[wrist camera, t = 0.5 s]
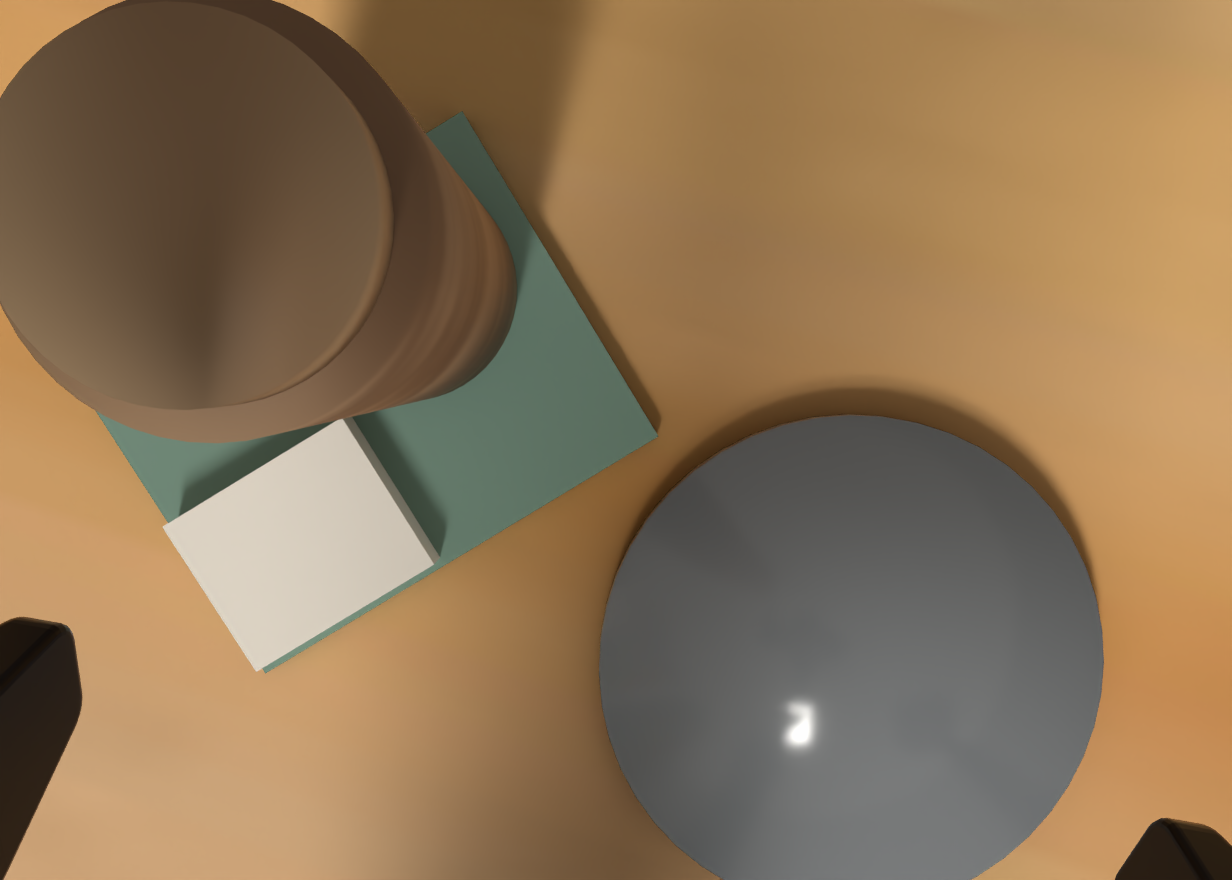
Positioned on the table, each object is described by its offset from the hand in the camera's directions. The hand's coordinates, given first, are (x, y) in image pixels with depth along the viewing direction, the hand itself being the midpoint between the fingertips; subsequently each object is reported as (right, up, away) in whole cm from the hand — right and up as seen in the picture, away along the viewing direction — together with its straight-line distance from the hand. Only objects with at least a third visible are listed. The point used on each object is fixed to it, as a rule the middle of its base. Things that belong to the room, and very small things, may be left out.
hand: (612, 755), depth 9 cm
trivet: (+5, -2, +15) cm, 16 cm away
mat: (-5, +4, +14) cm, 16 cm away
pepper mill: (-4, +6, +14) cm, 16 cm away
